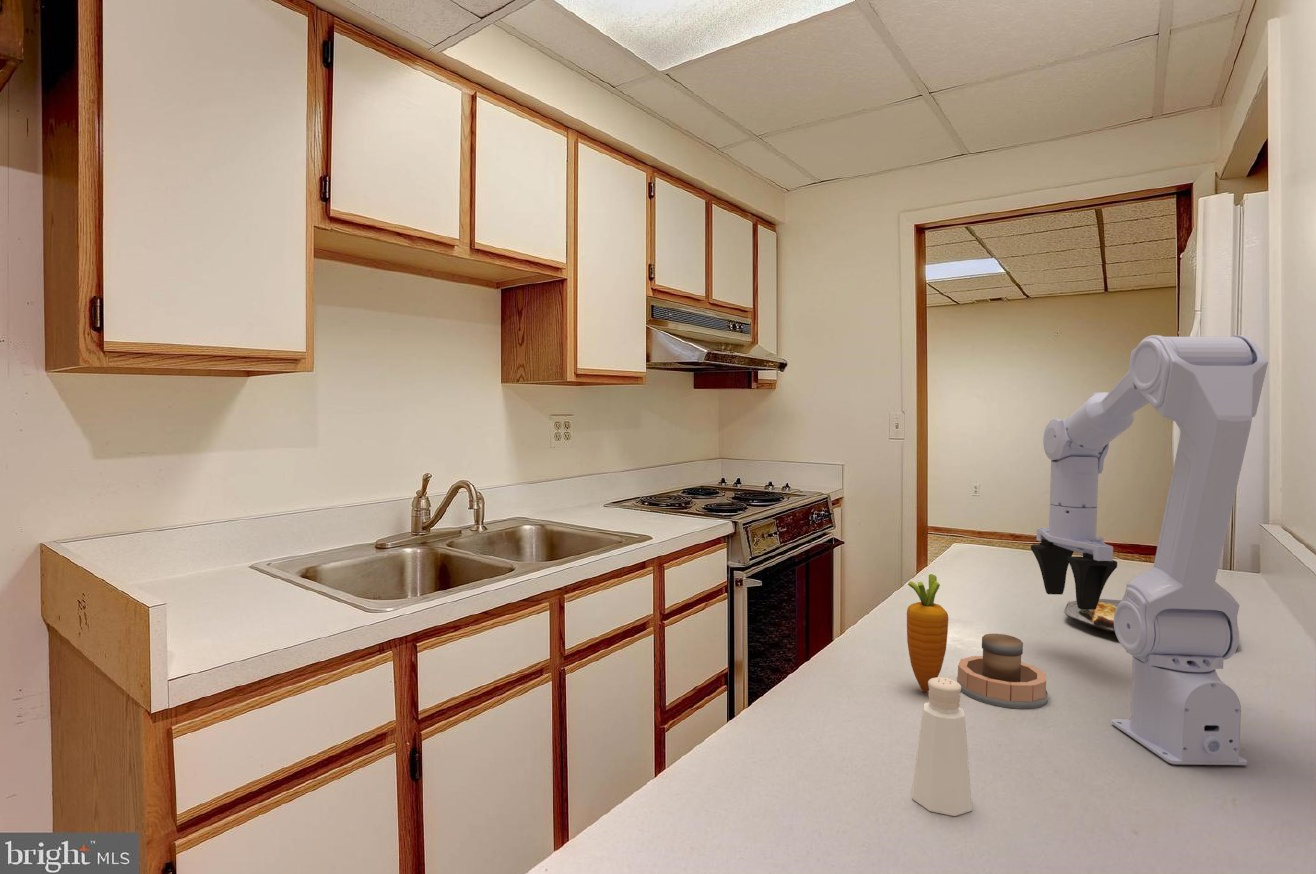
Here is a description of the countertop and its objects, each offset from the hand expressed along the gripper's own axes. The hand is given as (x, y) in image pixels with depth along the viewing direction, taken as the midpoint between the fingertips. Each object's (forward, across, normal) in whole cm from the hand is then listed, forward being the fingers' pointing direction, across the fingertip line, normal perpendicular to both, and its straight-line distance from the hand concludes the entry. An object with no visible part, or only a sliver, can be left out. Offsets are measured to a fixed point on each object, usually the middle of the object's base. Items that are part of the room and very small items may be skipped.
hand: (1070, 601), depth 96 cm
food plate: (+10, +18, -24) cm, 32 cm away
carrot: (+10, -10, +24) cm, 27 cm away
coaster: (+9, -9, +14) cm, 19 cm away
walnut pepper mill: (+9, -9, +14) cm, 19 cm away
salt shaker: (+10, -34, +32) cm, 48 cm away
